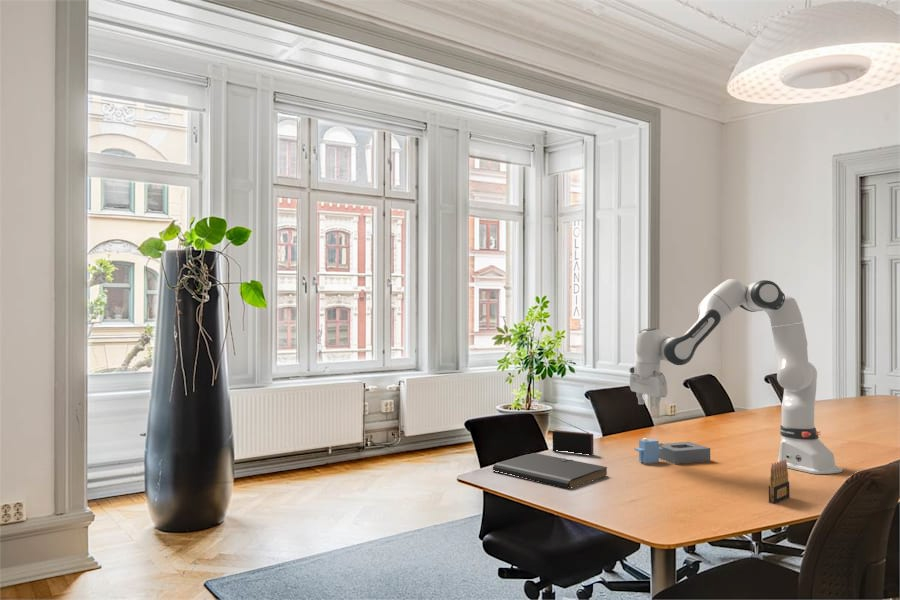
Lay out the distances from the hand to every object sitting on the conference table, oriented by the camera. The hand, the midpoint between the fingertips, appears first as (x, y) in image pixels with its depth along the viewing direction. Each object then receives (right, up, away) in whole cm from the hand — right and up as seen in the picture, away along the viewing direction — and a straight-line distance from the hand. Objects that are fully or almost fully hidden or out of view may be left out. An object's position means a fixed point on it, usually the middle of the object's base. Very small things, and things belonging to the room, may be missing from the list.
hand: (648, 406), depth 257 cm
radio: (-27, -22, +16) cm, 39 cm away
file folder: (-41, -22, -18) cm, 50 cm away
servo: (0, -22, 0) cm, 22 cm away
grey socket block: (+15, -21, +4) cm, 26 cm away
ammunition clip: (+25, -21, -51) cm, 61 cm away
